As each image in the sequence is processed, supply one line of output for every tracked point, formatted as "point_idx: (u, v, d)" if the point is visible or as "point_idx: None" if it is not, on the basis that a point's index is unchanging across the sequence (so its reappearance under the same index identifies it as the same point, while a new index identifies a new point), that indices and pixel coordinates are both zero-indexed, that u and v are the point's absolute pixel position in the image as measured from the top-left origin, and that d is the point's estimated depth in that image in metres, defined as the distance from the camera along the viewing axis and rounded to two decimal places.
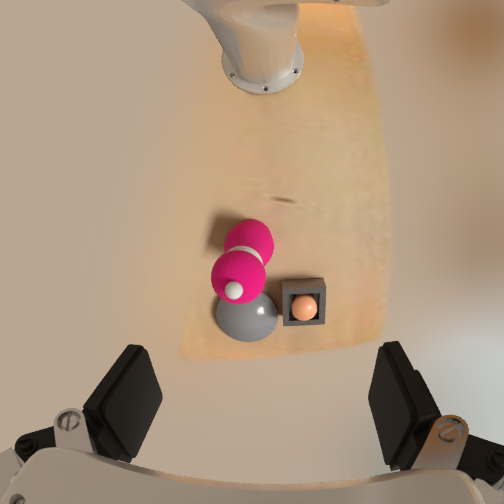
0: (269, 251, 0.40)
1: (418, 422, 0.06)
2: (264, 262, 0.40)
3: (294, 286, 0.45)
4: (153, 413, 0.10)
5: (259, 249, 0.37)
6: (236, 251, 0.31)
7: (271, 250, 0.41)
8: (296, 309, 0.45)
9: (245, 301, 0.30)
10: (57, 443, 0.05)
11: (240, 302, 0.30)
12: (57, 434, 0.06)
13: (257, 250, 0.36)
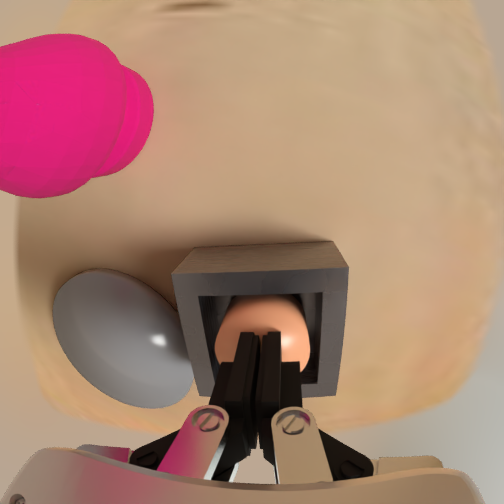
0: (70, 86, 0.06)
1: (264, 407, 0.07)
2: (43, 135, 0.06)
3: (223, 266, 0.12)
4: None
5: None
6: None
7: (89, 91, 0.07)
8: (230, 348, 0.12)
9: None
10: (178, 437, 0.06)
11: None
12: (184, 428, 0.07)
13: None
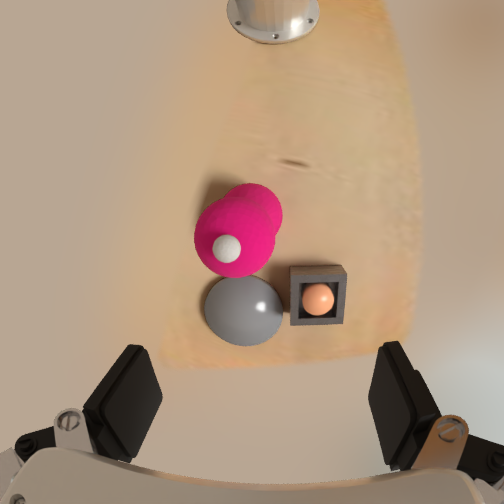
0: (277, 219, 0.30)
1: (418, 422, 0.06)
2: None
3: (307, 273, 0.35)
4: (153, 413, 0.10)
5: None
6: (233, 197, 0.20)
7: (279, 219, 0.30)
8: (308, 299, 0.35)
9: (244, 271, 0.20)
10: (57, 443, 0.05)
11: (236, 272, 0.20)
12: (57, 434, 0.06)
13: None
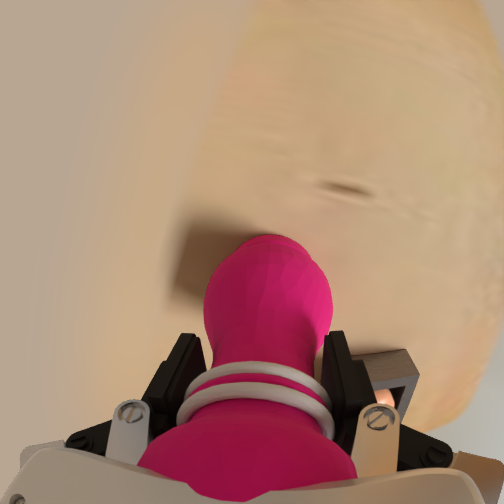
0: (328, 328, 0.14)
1: (347, 407, 0.07)
2: None
3: None
4: None
5: (310, 343, 0.11)
6: (235, 455, 0.04)
7: (330, 323, 0.14)
8: None
9: None
10: (111, 433, 0.06)
11: None
12: (114, 424, 0.06)
13: (306, 350, 0.10)
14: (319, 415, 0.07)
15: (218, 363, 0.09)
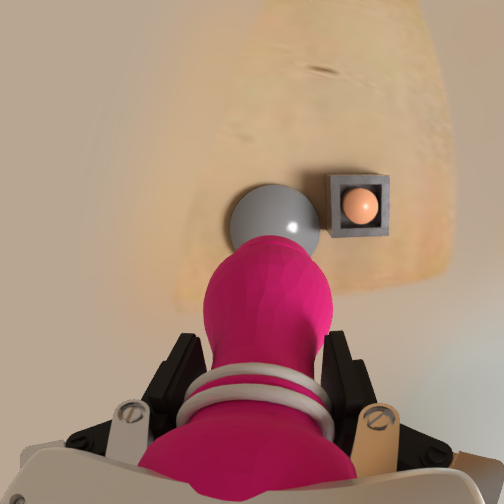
0: (327, 329, 0.14)
1: (347, 407, 0.07)
2: None
3: None
4: None
5: (310, 344, 0.11)
6: (235, 457, 0.04)
7: (330, 324, 0.14)
8: (350, 204, 0.30)
9: None
10: (111, 433, 0.06)
11: None
12: (114, 424, 0.06)
13: (306, 351, 0.10)
14: (319, 416, 0.07)
15: (218, 364, 0.09)
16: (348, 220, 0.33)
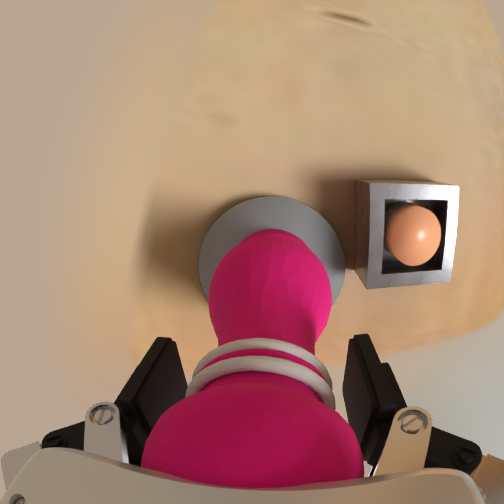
0: (327, 316, 0.14)
1: (380, 412, 0.07)
2: None
3: (396, 182, 0.16)
4: None
5: (311, 327, 0.12)
6: (245, 414, 0.05)
7: (329, 311, 0.15)
8: (400, 234, 0.17)
9: None
10: (86, 436, 0.06)
11: None
12: (87, 427, 0.06)
13: (307, 333, 0.11)
14: (320, 388, 0.08)
15: (225, 343, 0.10)
16: (389, 255, 0.20)
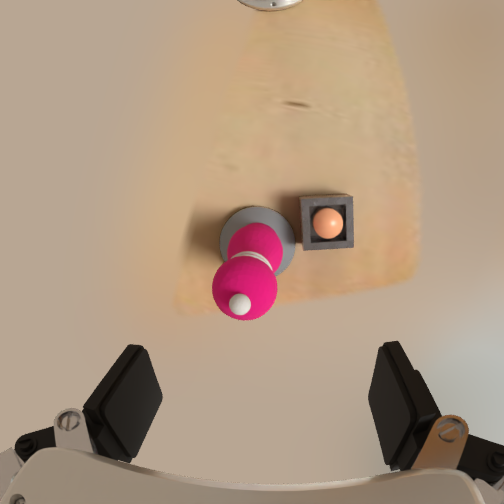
0: (278, 257, 0.35)
1: (418, 422, 0.06)
2: (273, 270, 0.35)
3: (316, 197, 0.37)
4: (153, 413, 0.10)
5: (267, 256, 0.32)
6: (242, 257, 0.26)
7: (280, 256, 0.36)
8: (318, 222, 0.37)
9: (253, 317, 0.25)
10: (57, 443, 0.05)
11: (247, 318, 0.25)
12: (57, 434, 0.06)
13: (265, 256, 0.31)
14: None
15: None
16: None
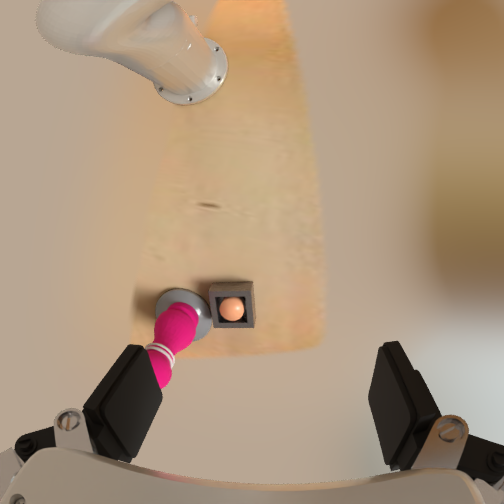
0: (188, 337, 0.45)
1: (418, 422, 0.06)
2: (184, 346, 0.45)
3: (221, 289, 0.47)
4: (153, 413, 0.10)
5: (175, 341, 0.42)
6: None
7: (191, 336, 0.45)
8: (223, 309, 0.47)
9: None
10: (57, 443, 0.05)
11: None
12: (57, 434, 0.06)
13: (172, 342, 0.41)
14: (166, 354, 0.38)
15: None
16: None
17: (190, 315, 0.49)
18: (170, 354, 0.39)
